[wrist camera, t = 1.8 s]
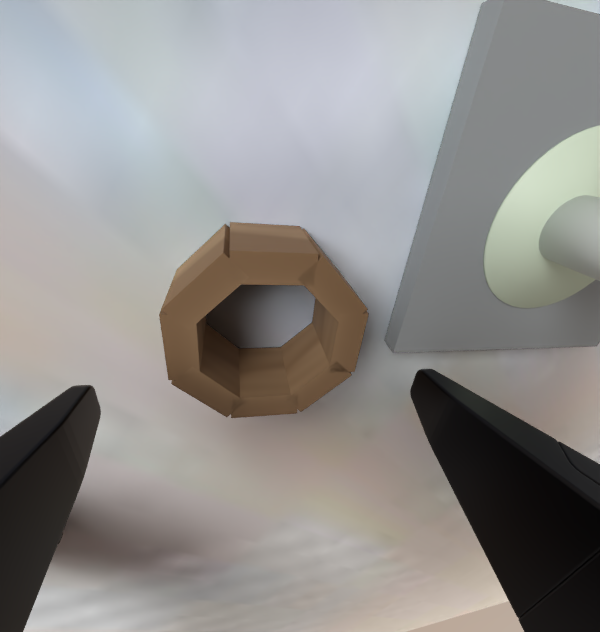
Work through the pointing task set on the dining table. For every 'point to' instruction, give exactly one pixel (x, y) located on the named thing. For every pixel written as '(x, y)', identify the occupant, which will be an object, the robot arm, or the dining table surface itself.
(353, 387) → the dining table surface
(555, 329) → the post board
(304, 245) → the ring
